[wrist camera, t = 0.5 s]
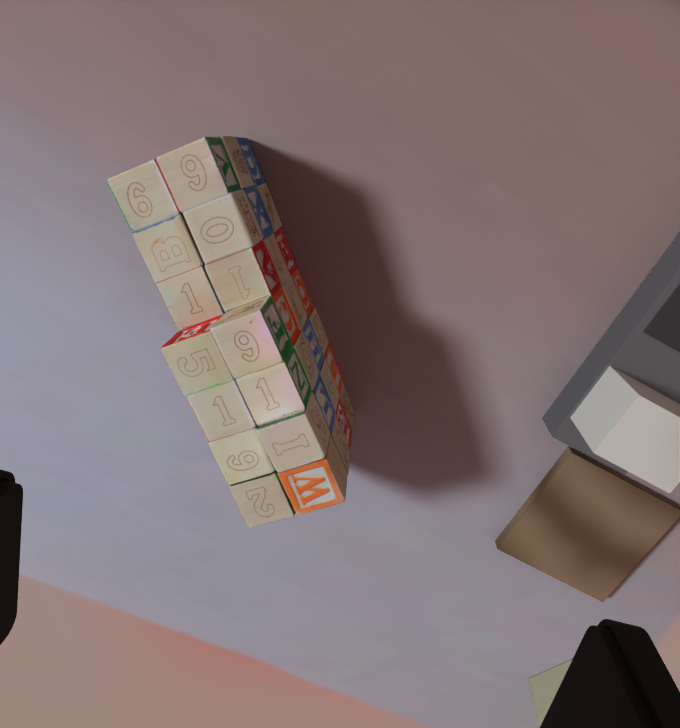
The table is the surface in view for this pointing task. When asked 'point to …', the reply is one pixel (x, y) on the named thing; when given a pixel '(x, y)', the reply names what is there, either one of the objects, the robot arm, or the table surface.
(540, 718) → the tall wooden block
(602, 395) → the block
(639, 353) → the power strip
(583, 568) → the pad
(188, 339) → the stack of blocks
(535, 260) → the table surface
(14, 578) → the robot arm
